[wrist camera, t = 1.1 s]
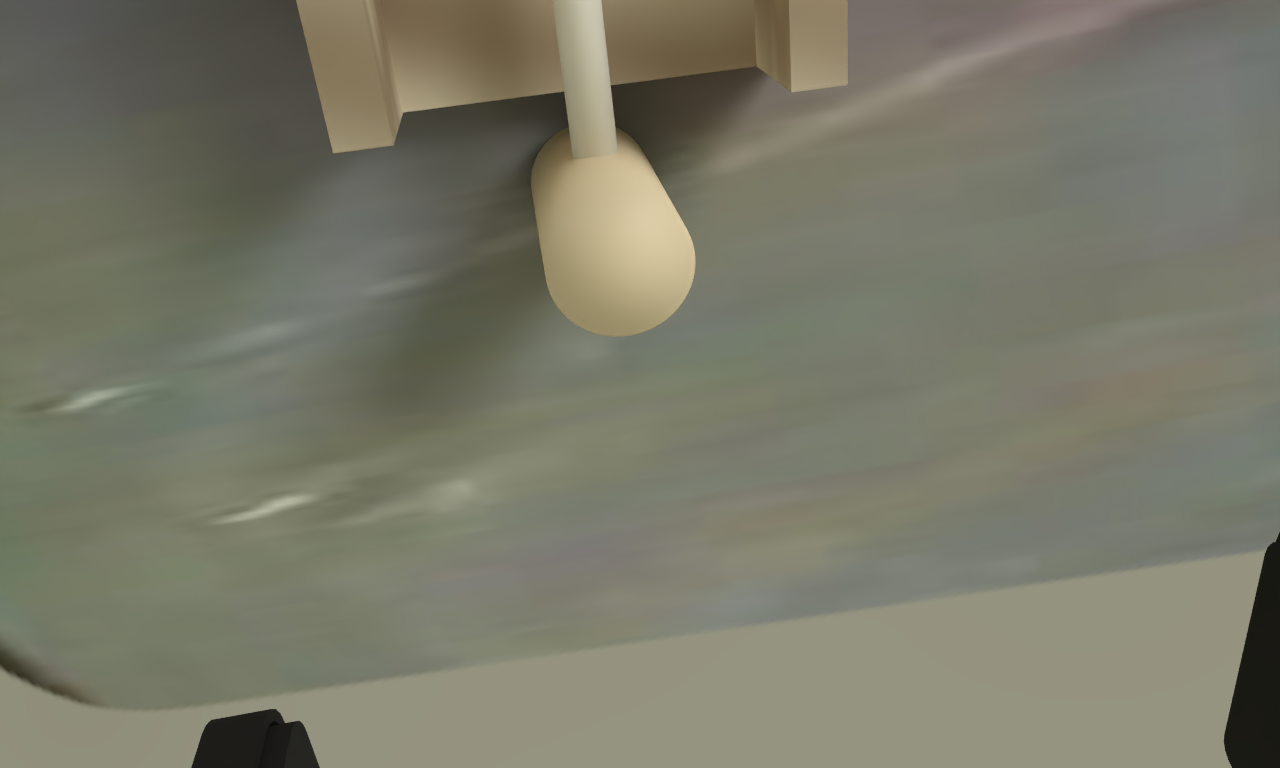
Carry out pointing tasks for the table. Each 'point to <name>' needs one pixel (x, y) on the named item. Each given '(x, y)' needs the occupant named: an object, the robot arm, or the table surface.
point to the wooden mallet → (604, 201)
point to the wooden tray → (545, 51)
